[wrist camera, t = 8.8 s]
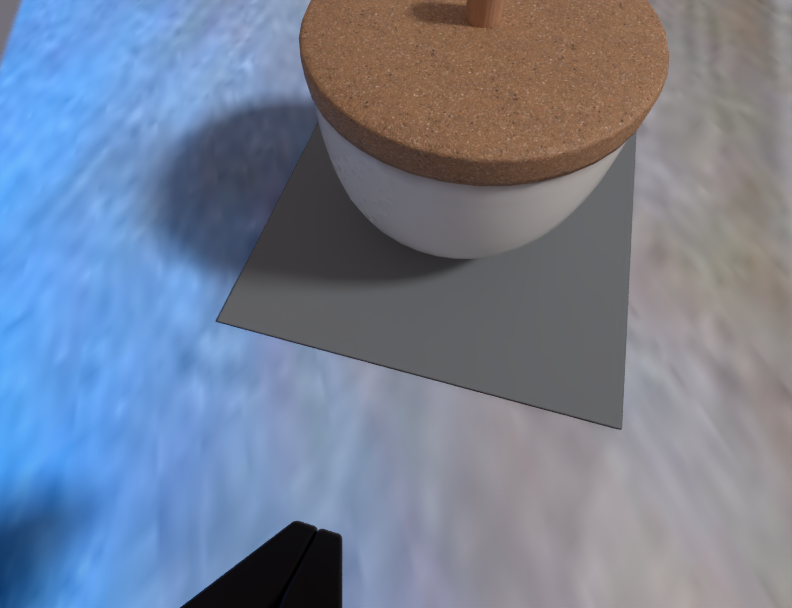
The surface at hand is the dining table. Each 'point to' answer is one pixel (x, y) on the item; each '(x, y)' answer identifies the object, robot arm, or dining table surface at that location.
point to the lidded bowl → (478, 110)
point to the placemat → (451, 295)
